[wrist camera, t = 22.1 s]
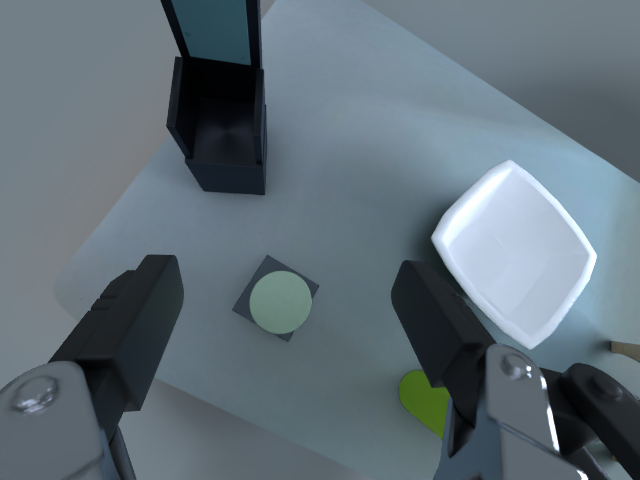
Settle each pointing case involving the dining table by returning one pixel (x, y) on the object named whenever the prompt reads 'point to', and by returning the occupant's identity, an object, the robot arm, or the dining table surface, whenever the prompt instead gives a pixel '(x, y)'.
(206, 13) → the navy chair block
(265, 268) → the coaster
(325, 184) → the dining table surface
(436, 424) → the soap dispenser
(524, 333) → the bowl
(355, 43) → the dining table surface
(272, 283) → the green cylinder
